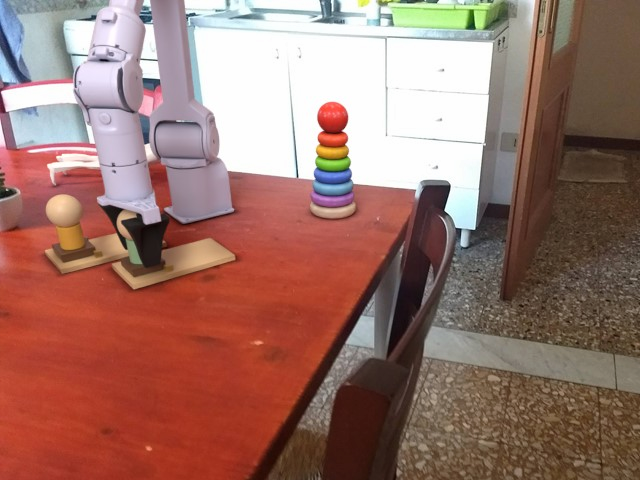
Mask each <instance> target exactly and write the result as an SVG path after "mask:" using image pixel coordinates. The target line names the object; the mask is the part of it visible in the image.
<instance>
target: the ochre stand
mask: <svg viewBox="0 0 640 480" xmlns="http://www.w3.org/2000/svg"><path fill="white" fill-rule="evenodd" d="M84 237H85V238H86V239H87V240H88V241H89V242H90V243H92V244H93V245H94V246H95V249H96V250H95V251H93V253H94V255H91V256H87V257H83V258H79V259H75V260H71V261H67V262H62V261H61V259H60V258H59V257H58V256H57V255H56V254H55V253H54V251H53V248H52V247H51V248H47V249H45V250H44V253H45V256H46V257H47V259H49V260H50V261H51V263H52V264H53V265H54V266H55V267H56V269H57V270H58V271H59V272H60V273H61V274H62V275H64V274H68V273H72V272H76V271H80V270H84V269H87V268H91V267H96V266H99V265H103V264H106V263H111V262H114V261H117V260H120V258H123V257H127V256H129V253H128V250H125V249H124V247H123V246H122V244H121V242H120V239H119V237H118V235H117V233H111V234H107V235H103V236H98V237H93V238H90V239H89V237H88V236H87V235H85V236H84ZM167 247H168V245H167V242H166V241H165V239H163V243H162V249H164V248H167Z"/></svg>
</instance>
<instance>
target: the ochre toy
mask: <svg viewBox="0 0 640 480" xmlns="http://www.w3.org/2000/svg"><path fill="white" fill-rule="evenodd" d="M45 205H46V206H45V214H46V217H47V218H48V220H49V221H50V222H51V223H52V224H53V225H55V230H56V234H57V238H58V242H56V243H53V244H51V249H52V248H53V251H54V253H55V254H56V255H57V256H58V257H59V258H60V259H61V261H62V262H67V261H71V260H75V259H79V258H83V257H87V256H91V255H94V253H93V251H95V250H96V249H95V246H94V245H93V244H92V243H90V242H89V241H88V240H87V239H86V238H85V236H84V232H83V229H82V224H81V220H82V218H83V214H84V210H83V205H82V204H81V202H80V201H79V200H78V199H77V198H76V197H74V196H72V195H69V194H64V193H63V194H57V195H54V196H52V197H51V198H50V199H49V200H48V201H47V203H46V204H45Z"/></svg>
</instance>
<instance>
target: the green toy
mask: <svg viewBox="0 0 640 480" xmlns="http://www.w3.org/2000/svg"><path fill="white" fill-rule="evenodd" d="M136 213H137V212H133V211H130V210H126V209H124V210H123V211H122V212H121V213H120V214H119V216H118V218H117V228H118V230H119V232H120V233H121V234H122V235H123V236H124V237H125V238H126V243H127V248H128V253H129V256H127V257H123V258H120V259H119V260H120V261H121V265H122V266H123V267H124V268H125V269H126V270H127V271H128V272H129V273H130V274H131V275H132V276H133V277H137V276H140V275H144V274H147V273H151V272H154V271H158V270H161V269H164V266H163V265H165V264H166V263H165V260H164V259H163V258H161V263H160V264H159V265H156V266H152V267H149V268H145V267H144V266H143V264H142V262H141V260H140V257H139V255H138V252H137V249H136V246H135V244H134V241H133V239H132V237H131V236H130V234H129V233H128V231H127V230H126V228H125V227H124V226H123V225H122V224H121V220H126V219H130V218H134V217H136ZM136 218H137V217H136ZM120 261H119V262H120Z"/></svg>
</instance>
